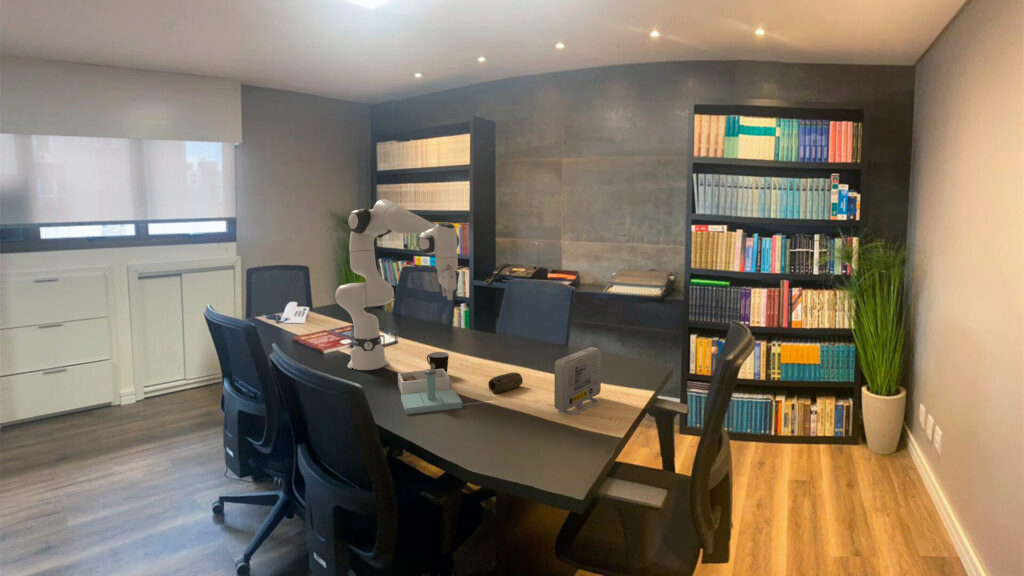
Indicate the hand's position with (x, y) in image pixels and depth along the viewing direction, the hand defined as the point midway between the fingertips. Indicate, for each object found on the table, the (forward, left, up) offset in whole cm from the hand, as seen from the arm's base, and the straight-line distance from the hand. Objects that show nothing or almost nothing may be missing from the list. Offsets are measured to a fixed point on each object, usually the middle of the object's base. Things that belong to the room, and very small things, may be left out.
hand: (447, 297), depth 247 cm
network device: (+39, +41, -37) cm, 68 cm away
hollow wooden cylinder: (+12, +21, -38) cm, 44 cm away
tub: (+1, -11, -37) cm, 39 cm away
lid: (+19, -11, -37) cm, 43 cm away
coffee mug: (-15, -2, -37) cm, 40 cm away
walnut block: (-1, -16, -36) cm, 40 cm away
